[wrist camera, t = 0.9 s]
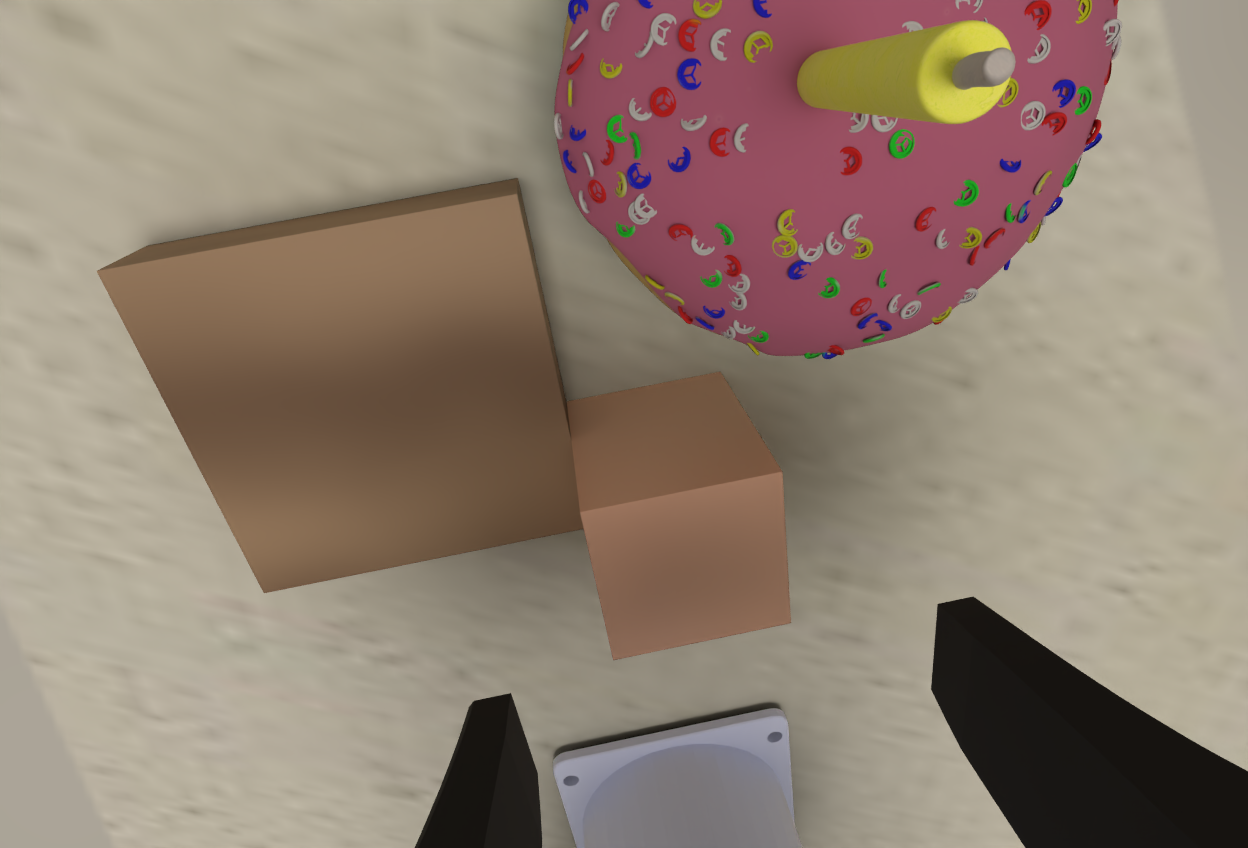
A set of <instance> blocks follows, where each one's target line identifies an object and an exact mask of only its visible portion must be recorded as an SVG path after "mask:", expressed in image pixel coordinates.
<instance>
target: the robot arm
mask: <svg viewBox="0 0 1248 848" xmlns="http://www.w3.org/2000/svg"><path fill="white" fill-rule="evenodd" d="M931 690H932V692H933V694H934V696H935V698H936V700H937V702H938V704H939V706H940V708H941V710H942V712H943V714H944V717H945V719H946V721H947V723H948V725H949V726H950V728H951V730H952V732H953V734H954V736H955V738H956V740H957V742H958V744H959V746H960V748H961V749H962V751H963V753H964V754H965V756H966V757H967V759H968V761H969V762H970V764H971V765H972V767H973V768H974V770H975V771H976V773H977V774H978V776H979V778H980V779H981V781H982V782H983V784H984V785H985V787H986V788H987V790H988V791H989V793H990V795H991V796H992V798H993V799H994V801H995V802H996V804H997V805H998V807H999V808H1000V810H1001V811H1002V813H1003V814H1004V816H1005V817H1006V819H1007V820H1008V822H1009V823H1010V825H1011V827H1012V828H1013V830H1014V831H1015V833H1016V834H1017V836H1018V837H1019V839H1020V840H1021V842H1022V843H1023V845H1024V846H1025V848H1248V771H1246V770H1244V769H1242V768H1241V767H1239V766H1237V765H1235V764H1233V763H1231V762H1229V761H1228V760H1226V759H1224V758H1222V757H1220V756H1218V755H1216V754H1215V753H1213V752H1211V751H1209V750H1207V749H1206V748H1204V747H1202V746H1200V745H1199V744H1197V743H1195V742H1193V741H1192V740H1190V739H1188V738H1186V737H1185V736H1183V735H1181V734H1180V733H1178V732H1176V731H1175V730H1173V729H1171V728H1170V727H1168V726H1166V725H1165V724H1163V723H1161V722H1160V721H1158V720H1156V719H1155V718H1153V717H1152V716H1150V715H1148V714H1147V713H1145V712H1143V711H1142V710H1140V709H1138V708H1137V707H1135V706H1134V705H1132V704H1130V703H1129V702H1127V701H1126V700H1124V699H1122V698H1121V697H1119V696H1118V695H1116V694H1115V693H1113V692H1112V691H1110V690H1109V689H1107V688H1105V687H1104V686H1102V685H1101V684H1099V683H1098V682H1096V681H1095V680H1093V679H1092V678H1090V677H1089V676H1087V675H1086V674H1084V673H1083V672H1081V671H1080V670H1078V669H1077V668H1075V667H1074V666H1072V665H1071V664H1069V663H1068V662H1066V661H1065V660H1063V659H1062V658H1060V657H1059V656H1058V655H1056V654H1055V653H1053V652H1052V651H1050V650H1049V649H1047V648H1046V647H1045V646H1043V645H1042V644H1040V643H1039V642H1037V641H1036V640H1034V639H1033V638H1032V637H1030V636H1029V635H1027V634H1026V633H1024V632H1023V631H1022V630H1020V629H1019V628H1017V627H1016V626H1014V625H1013V624H1012V623H1010V622H1009V621H1007V620H1006V619H1004V618H1003V617H1002V616H1000V615H999V614H997V613H996V612H995V611H993V610H992V609H990V608H989V607H987V606H986V605H985V604H983V603H982V602H980V601H979V600H977V599H976V598H974V597H969V598H964V599H960V600H955V601H950V602H945V603H940V604H938V608H937V621H936V634H935V647H934V660H933V673H932V686H931ZM553 774H554V777H555V780H556V783H557V786H558V789H559V793H560V796H561V799H562V802H563V805H564V808H565V812H566V815H567V818H568V821H569V824H570V828H571V831H572V834H573V837H574V840H575V843H576V847H577V848H803V847H802V844H801V841H800V838H799V836H798V833H797V830H796V827H795V821H794V806H793V790H792V775H791V760H790V745H789V729H788V721H787V719H786V716H785V714H784V712H783V711H782V710H781V709H777V708H769V709H765V710H760V711H755V712H751V713H746V714H741V715H737V716H732V717H727V718H722V719H718V720H713V721H708V722H704V723H699V724H694V725H690V726H685V727H680V728H675V729H671V730H666V731H661V732H657V733H652V734H647V735H643V736H638V737H633V738H628V739H624V740H619V741H614V742H610V743H605V744H600V745H596V746H591V747H586V748H581V749H577V750H572V751H567V752H564V753H561V754H559V755H558V756H556V757H555V759H554V760H553ZM415 848H542V831H541V814H540V800H539V786H538V773H537V770H536V767H535V764H534V761H533V758H532V755H531V752H530V749H529V746H528V743H527V740H526V737H525V734H524V731H523V728H522V725H521V722H520V719H519V716H518V713H517V710H516V707H515V704H514V701H513V698H512V695H511V693H510V694H505V695H500V696H495V697H491V698H486V699H481V700H476V701H474V702H473V703H472V704H471V705H470V707H469V709H468V712H467V715H466V718H465V722H464V725H463V728H462V731H461V733H460V736H459V739H458V742H457V745H456V748H455V751H454V753H453V756H452V759H451V761H450V764H449V767H448V769H447V772H446V774H445V777H444V780H443V782H442V785H441V787H440V790H439V792H438V795H437V797H436V799H435V802H434V804H433V806H432V809H431V811H430V814H429V816H428V818H427V821H426V823H425V825H424V828H423V830H422V833H421V835H420V837H419V839H418V842H417V844H416V846H415Z"/></svg>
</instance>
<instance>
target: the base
mask: <svg viewBox="0 0 1248 848" xmlns="http://www.w3.org/2000/svg"><path fill="white" fill-rule="evenodd" d="M97 273H98V275H99V277H100V278H101V280H102V282H103V284H104V286H105V288H106V290H107V292H108V294H109V296H110V298H111V300H112V302H113V304H114V305H115V307H116V309H117V311H118V313H119V315H120V317H121V319H122V321H123V323H124V325H125V327H126V329H127V330H128V332H129V334H130V336H131V338H132V340H133V342H134V344H135V346H136V348H137V350H138V352H139V354H140V355H141V357H142V359H143V361H144V363H145V365H146V367H147V369H148V371H149V373H150V375H151V377H152V379H153V381H154V382H155V384H156V386H157V388H158V390H159V392H160V394H161V396H162V398H163V400H164V402H165V404H166V406H167V407H168V409H169V411H170V413H171V415H172V417H173V419H174V421H175V423H176V425H177V427H178V429H179V431H180V432H181V434H182V436H183V438H184V440H185V442H186V444H187V446H188V448H189V450H190V452H191V454H192V456H193V458H194V459H195V461H196V463H197V465H198V467H199V469H200V471H201V473H202V475H203V477H204V479H205V481H206V483H207V484H208V486H209V488H210V490H211V492H212V494H213V496H214V498H215V500H216V502H217V504H218V506H219V508H220V509H221V511H222V513H223V515H224V517H225V519H226V521H227V523H228V525H229V527H230V529H231V531H232V533H233V534H234V536H235V538H236V540H237V542H238V544H239V546H240V548H241V550H242V552H243V554H244V556H245V558H246V560H247V561H248V563H249V565H250V567H251V569H252V571H253V573H254V575H255V577H256V579H257V581H258V583H259V585H260V586H261V588H262V590H263V592H264V593H267V592H272V591H277V590H282V589H287V588H292V587H297V586H302V585H307V584H312V583H317V582H322V581H327V580H332V579H337V578H342V577H347V576H352V575H357V574H362V573H367V572H372V571H377V570H382V569H386V568H391V567H396V566H401V565H406V564H411V563H416V562H421V561H426V560H431V559H436V558H441V557H446V556H451V555H456V554H461V553H466V552H471V551H476V550H481V549H486V548H491V547H496V546H501V545H506V544H511V543H516V542H521V541H525V540H530V539H535V538H540V537H545V536H550V535H555V534H560V533H565V532H570V531H575V530H580V529H584V528H583V523H582V519H581V514H580V508H579V500H578V491H577V483H576V475H575V467H574V458H573V450H572V442H571V434H570V425H569V417H568V409H567V402H566V398H565V393H564V389H563V384H562V379H561V375H560V370H559V365H558V361H557V356H556V352H555V347H554V342H553V338H552V333H551V329H550V324H549V319H548V315H547V310H546V305H545V301H544V296H543V292H542V287H541V282H540V278H539V273H538V269H537V264H536V259H535V255H534V250H533V246H532V241H531V236H530V232H529V227H528V222H527V218H526V213H525V209H524V204H523V199H522V195H521V190H520V186H519V181H518V178H516V179H511V180H505V181H500V182H494V183H489V184H483V185H478V186H472V187H467V188H461V189H456V190H450V191H445V192H439V193H434V194H429V195H423V196H418V197H412V198H407V199H401V200H396V201H390V202H385V203H379V204H374V205H368V206H363V207H357V208H352V209H346V210H341V211H335V212H330V213H324V214H319V215H313V216H308V217H303V218H297V219H292V220H286V221H281V222H275V223H270V224H264V225H259V226H253V227H248V228H242V229H237V230H231V231H226V232H220V233H215V234H209V235H204V236H198V237H193V238H187V239H182V240H177V241H171V242H166V243H160V244H155V245H149V246H146V247H144V248H142V249H140V250H138V251H136V252H134V253H132V254H130V255H128V256H126V257H124V258H122V259H120V260H118V261H116V262H114V263H112V264H110V265H108V266H106V267H104V268H102V269H100V270H98V271H97Z"/></svg>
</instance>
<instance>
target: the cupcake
mask: <svg viewBox="0 0 1248 848" xmlns="http://www.w3.org/2000/svg"><path fill="white" fill-rule="evenodd" d="M1117 3H1118V0H571V1H570V3H569V6H568V16H567V21H566V26H565V33H564V42H563V60H562V64H561V69H560V74H559V79H558V84H557V90H556V97H555V117H554V129H555V134H556V137H557V143H558V148H559V153H560V158H561V162H562V166H563V170H564V173H565V177H566V180H567V183H568V186H569V189H570V191H571V194H572V196H573V198H574V200H575V202H576V204H577V206H578V208H579V209H580V211H581V213H582V214H583V215H584V217H585V218H586V219H587V221H588V222H589V223H590V224H591V225H592V226H594V227H595V228H596V229H597V230H598V231H599V232H600V233H601V234H602V235H604V236H605V237H606V238H607V240H608V242H609V244H610V245H611V247H612V248H613V250H614V251H615V253H616V254H617V255H618V257H619V258H620V259H621V261H622V262H623V263H624V264H625V265H626V266H627V267H628V269H629V270H630V271H631V272H632V273H633V274H634V275H635V276H636V277H637V278H638V279H639V280H640V281H641V282H642V283H643V284H644V285H645V286H646V287H647V288H648V289H649V290H650V291H651V292H652V293H653V294H654V295H655V296H656V297H657V298H658V299H659V300H660V301H661V302H662V303H664V304H665V305H666V306H667V307H668V308H670V309H671V310H672V311H673V312H675V313H676V314H678V315H679V316H680V317H681V318H682V319H683V320H684V321H685V322H686V323H688V324H694V325H696V326H698V327H701V328H704V329H706V330H709V331H711V332H714V333H717V334H719V335H723V336H725V337H726V338H728V339H734V340H737V341H739V342H742V343H744V344H746V345H748V346H749V347H750V348H751V349H752V351H753V352H754V353H755V354H756V355H759V354H760V353H759V352H758V351H757V350H759V351H761V352H763V353H765V354H769V355H775V356H798V355H804V356H805V358H807V359H811V358H815V357H818V356H819V355H821V354H822V356H823V358H825V359H831V358H833V357H835V356H837V355H843V354H844V350H849V349H854V348H858V347H863V346H867V345H872V344H876V343H881V342H885V341H889V340H892V339H896V338H899V337H902V336H905V335H908V334H911V333H913V332H916V331H918V330H920V329H922V328H924V327H926V326H928V325H929V324H931V323H934V324H935V325H937V324H939V323H941V322H942V321H943V320H944V319H946V318H947V317H948V316H949V315H950V313H951V311H952V309H953V308H955V307H956V306H957V305H959V304H960V303H967V302H970V301H972V300H973V299H974V298H976V296H977V295H978V290H977V289H978V288H980V287H981V286H982V285H983V284H984V283H985V282H987V281H988V280H989V279H990V278H991V277H992V276H993V275H995V274H996V273H997V272H998V271H999V270H1000V269H1001V268H1002V267H1003V266H1004V270H1008V267H1009V264H1010V260H1011V258H1012V257H1013V256H1014V255H1015V254H1016V253H1017V252H1018V251H1019V249H1020V248H1021V247H1022V246H1023V245H1024V243H1025V242H1026V241H1027V242H1028V243H1032V242H1033V241H1034V240H1035V238H1036V237H1037V235H1038V233H1039V231H1040V228H1041V225H1044V224H1045V221H1046V216H1048V215H1050V214H1051V213H1053V212H1054V211H1055V210H1056V209H1057V208H1058V207H1059V206H1060V205H1061V204H1062V201H1063V199H1062V198H1061V197H1059V195H1060V193H1061V190H1062V189H1063V187H1068V186H1069V185H1070V184H1071V182H1072V181H1073V179H1074V177H1075V174H1076V171H1077V168H1078V165H1079V163H1080V160H1081V156H1082V153H1083V152H1085V151H1087V150H1089V149H1091V148H1092V147H1094V146H1095V145H1096V144H1097V143H1098V142H1099V141H1100V140H1101V139H1102V135H1101V134H1100V133H1099V131H1100V128H1101V121H1100V120H1098V119H1096V117H1097V114H1098V111H1099V107H1100V104H1101V100H1102V97H1103V93H1104V90H1105V86H1106V84H1107V83H1108V81H1109V79H1110V74H1111V66H1112V63H1111V61H1112V60H1113V59H1115V58H1116V56H1117V55H1118V53H1119V50H1120V47H1121V37H1120V31H1121V28H1122V23H1121V21H1120V20H1118V19H1117ZM1114 47H1115V49H1114ZM1113 49H1114V52H1113ZM1094 128H1095V131H1094V133H1092V132H1093V130H1094ZM1094 139H1095V140H1094ZM1093 140H1094V142H1092V141H1093ZM1088 144H1090V145H1088ZM1087 145H1088V146H1087ZM1055 202H1057V203H1056V205H1055V206H1053V205H1054V203H1055ZM1051 208H1052V209H1051ZM1049 209H1050V210H1049ZM1048 210H1049V211H1048ZM1032 235H1033V236H1032ZM971 294H972V295H971ZM970 295H971V296H970ZM968 296H970V297H968ZM967 297H968V298H967ZM830 352H831V355H827V353H830Z"/></svg>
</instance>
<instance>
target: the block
mask: <svg viewBox="0 0 1248 848" xmlns="http://www.w3.org/2000/svg"><path fill="white" fill-rule="evenodd" d="M567 409H568V417H569V425H570V434H571V442H572V450H573V458H574V467H575V475H576V483H577V491H578V500H579V508H580V514H581V519H582V523H583V528H584V532H585V537H586V541H587V545H588V550H589V554H590V559H591V563H592V568H593V572H594V577H595V581H596V585H597V590H598V594H599V599H600V603H601V608H602V612H603V617H604V621H605V625H606V630H607V634H608V639H609V643H610V648H611V652H612V657H613V660H617V659H622V658H626V657H631V656H636V655H641V654H645V653H650V652H655V651H660V650H665V649H669V648H674V647H679V646H684V645H688V644H693V643H698V642H703V641H708V640H712V639H717V638H722V637H727V636H731V635H736V634H741V633H746V632H751V631H755V630H760V629H765V628H770V627H774V626H779V625H784V624H789V623H791V616H790V598H789V580H788V562H787V545H786V527H785V509H784V492H783V474H782V470H781V469H780V467H779V465H778V464H777V462H776V461H775V459H774V457H773V456H772V454H771V452H770V451H769V449H768V448H767V446H766V444H765V443H764V441H763V440H762V438H761V436H760V435H759V433H758V432H757V430H756V428H755V427H754V425H753V423H752V422H751V420H750V419H749V417H748V415H747V414H746V412H745V411H744V409H743V407H742V406H741V404H740V403H739V401H738V399H737V398H736V396H735V394H734V393H733V391H732V390H731V388H730V386H729V385H728V383H727V382H726V380H725V378H724V377H723V375H722V373H721V372H716V373H710V374H705V375H700V376H695V377H690V378H685V379H680V380H674V381H669V382H664V383H659V384H654V385H649V386H643V387H638V388H633V389H628V390H623V391H618V392H613V393H607V394H602V395H597V396H592V397H587V398H582V399H577V400H571V401H567Z"/></svg>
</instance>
